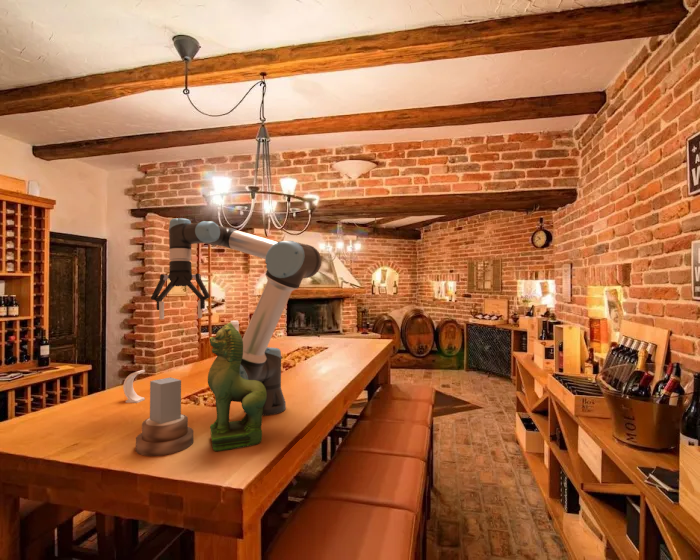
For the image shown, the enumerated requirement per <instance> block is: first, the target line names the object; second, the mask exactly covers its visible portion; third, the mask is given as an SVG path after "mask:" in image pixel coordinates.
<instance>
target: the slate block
mask: <svg viewBox="0 0 700 560" xmlns="http://www.w3.org/2000/svg"><path fill="white" fill-rule="evenodd" d="M149 384H150V385H149V386H150V387H149V418H150V420H152V421H154V422H157V423H159V424H162V423H166V422H170V421H173V420H177V419H180V418H181V414H182V380H181V379H178V378H174V377H165V378H161V379H154V380H150V381H149Z"/></svg>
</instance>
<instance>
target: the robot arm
mask: <svg viewBox="0 0 700 560" xmlns="http://www.w3.org/2000/svg"><path fill="white" fill-rule="evenodd" d="M168 225H169V226H168V241H169V242H168V243H169V247H168V248H169V249H168V250H169V253H168V254H169V255H168V256H169V257H168V258H169V260H170V261H169V271H168V272H169V274H165V273H163V274H160V276H159V281H158V283H157V284H156V286H155V289H154V290H153V292H152V295H151V296H150V300H153V301H155V302H156V311H158V315H159V316H158V319H159V320H165V301H163V300H164V299H165V298H166V296H167V295H168V294H169V293H170V291H171V290H172V289H173V288H175V287H188V288H189V289H190V290H191V291H192V292H193V293H194V294H195V295H196V297H197V298H198V299H199V300H197V319H202V318H203V310H204V309H205V307H206V300H208V299H210V298H211V295H210V294H209V292H208V289H207V288H206V286H205V284H204V282H203V281H202V280H203V279H202V276H201V274H200V273H196V274H193V273H192V270H193V269H192V265H193V264H192V262H191V261H192V245H195V244H196V245H197V244H204V245H205V244H206V245H210V246H211V245H212V246H220V247H224V248H226V249H227V248H228V249H230V250H235V251H238V252H241V253H245V254H248V255H251V256H253V257H258V258H260V259H264V260H265V261H264V263H265V264H266V265H265V267H266V272H265V274H264V275H265V277H266V279H267V282H266V284H265V286H264V288H263V290H262V293H261V295H260V297H259V299H258V301H257V305H256V306H255V309H254V311H253V313H252V316H251V319H250V321H249V323H248V326H247V328H246V330H245V332H244V334H243V337H242V340H243V358H242V361H241V364H240V372H239V373H240V376H241V377H242V378H243V379H246V380H257V381H260V382H261V383H262V384H263V385H264V386H265V388H266V392H267V397H266V401H265V404H264V406H263V412H262V417H263V416H264V417H265V416H271V415H272V416H273V415H277V414H280V413H282V412H284V411H285V410H286V399H285V397H284V393H283V390H282V358H283V357H282V351H281V349H279V348H278V347H270V346H269V347H268V345H269V344H270V341H271V338H272V336H273V334H274V332H275V330H276V328H277V325H278V324H279V321H280V319H281V317H282V314H283V313H284V310H285V308H286V306H287V303H288V301H289V298H290V297H291V294H292V292H293V291H296V290H298V289H299V287H300V285H301V283H302V282H303V279H308V278H312V277H314V276H315V275H316V274H318V272H319V271H320V269H321V266H322V257H321V254H320V252H319V250H318V249H317V248H316V247H314V246H313V245H311V244H305V243H301V242H297V241H294V240H279V241H277V240H273V239H270V238H266V237H263V236H258V235H256V234H252V233H248V232H245V231H240V230H237V229H235V228H233V227H227V226H221V225H218V223H216V222H214V221H212V220H211V221H208V220H202V221H201V222H200V221H199V222H192V221H191V220H190V219H188V218H183V217H180V218H179V217H178V218H177V217H176V218H171V219H170V220H169V224H168ZM193 279H194V280H195V282H196V283H197V285H198V287H199V289H200V291H199V290H198V288H197V287H196V286H195V285H194V283H193V282H191V281H192V280H193ZM167 280H169V281H170V282H169V283H168V284H167V285H166V286H165V288H164V289H163V287H164V285H165V283H166V281H167ZM162 289H163V290H162ZM161 291H162V292H161ZM243 412H244V413H245V414H246V412H245V411H244V410H243Z"/></svg>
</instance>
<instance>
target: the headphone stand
mask: <svg viewBox="0 0 700 560" xmlns="http://www.w3.org/2000/svg"><path fill="white" fill-rule="evenodd" d="M145 372H146V369H141V370H138V371H135V372H132V373H130V374H129V375H128V376H126V378H125V380H124V381H123V385H122V386H123V388H122V389H123V392H124V395H125V397H126V398H127V399H125V403H127V404H128V403H131V404H138V403H141V402H143V401H145V400H146V399H145V397H143V396H140V395H138V394H137V392H136V391H135V389H134V380H135V378H136V377H137V376H138V375H139V374H140V375H141V374H142V373H145Z"/></svg>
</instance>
